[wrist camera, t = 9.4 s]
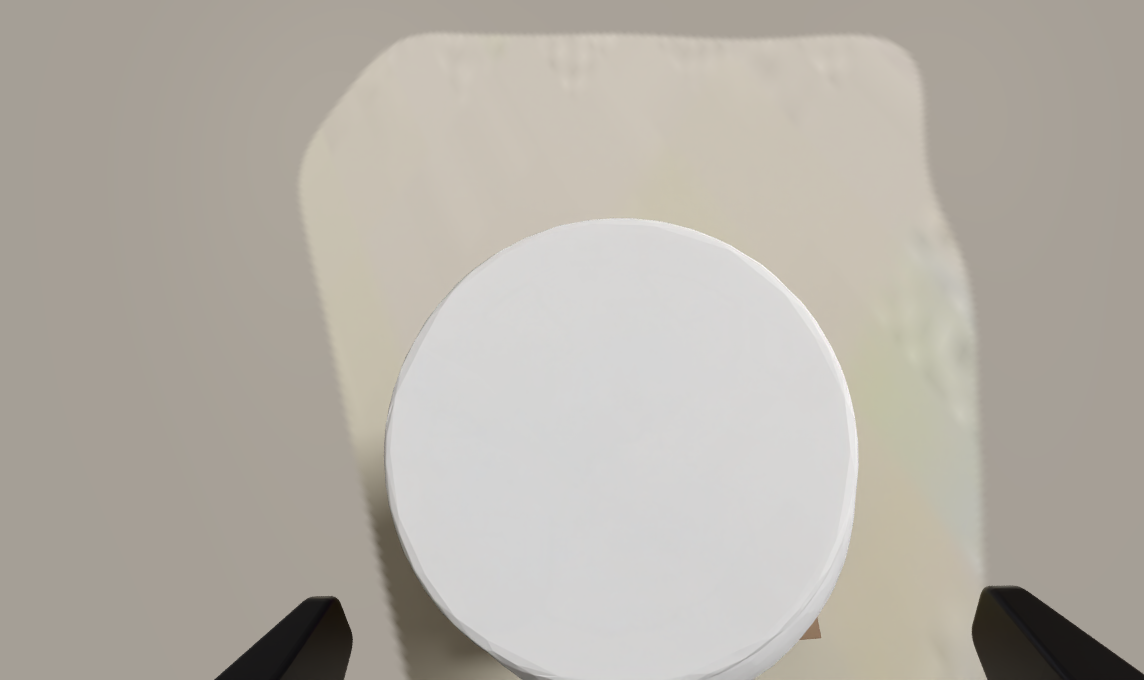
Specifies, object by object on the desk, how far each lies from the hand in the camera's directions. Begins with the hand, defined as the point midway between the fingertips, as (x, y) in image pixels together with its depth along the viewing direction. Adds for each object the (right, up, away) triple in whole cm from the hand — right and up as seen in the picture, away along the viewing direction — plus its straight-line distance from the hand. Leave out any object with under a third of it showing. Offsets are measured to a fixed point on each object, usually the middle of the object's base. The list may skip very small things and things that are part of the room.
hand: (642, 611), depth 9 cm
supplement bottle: (+1, -1, +10) cm, 10 cm away
